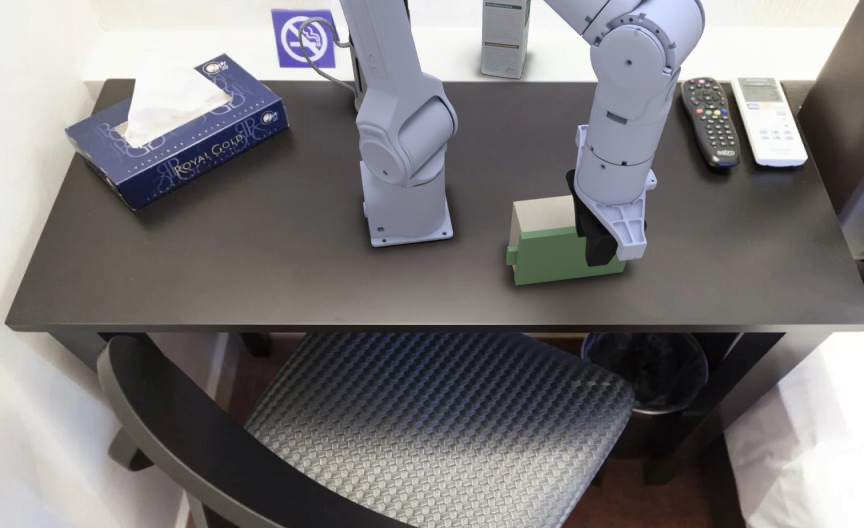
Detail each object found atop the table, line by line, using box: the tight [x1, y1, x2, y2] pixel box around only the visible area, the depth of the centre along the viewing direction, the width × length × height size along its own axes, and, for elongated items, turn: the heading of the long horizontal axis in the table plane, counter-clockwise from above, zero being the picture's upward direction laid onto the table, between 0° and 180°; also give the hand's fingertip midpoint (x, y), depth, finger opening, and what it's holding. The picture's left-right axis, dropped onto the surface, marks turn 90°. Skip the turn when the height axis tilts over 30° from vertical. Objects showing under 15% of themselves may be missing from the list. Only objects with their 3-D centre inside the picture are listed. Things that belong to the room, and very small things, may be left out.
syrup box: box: [480, 0, 532, 80], centre depth 89 cm, size 6×6×14 cm
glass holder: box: [297, 0, 412, 113], centre depth 84 cm, size 9×14×15 cm, turn 108°
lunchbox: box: [505, 194, 628, 286], centre depth 73 cm, size 14×5×8 cm, turn 99°
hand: (592, 248), depth 65 cm, fingers open, 3 cm apart
